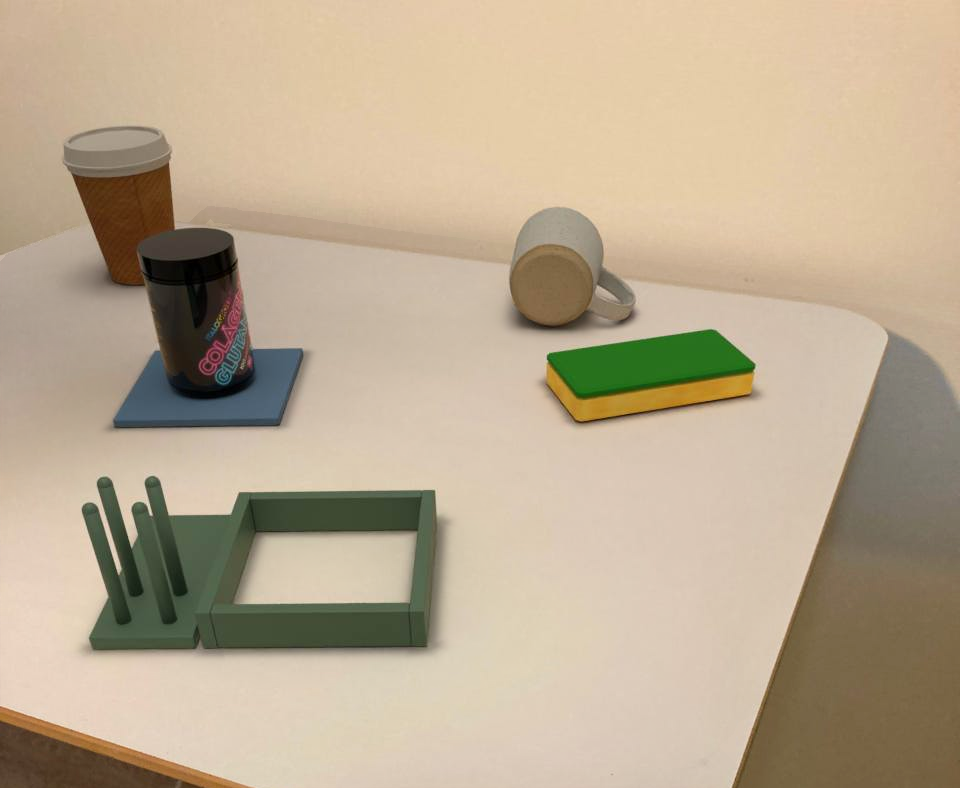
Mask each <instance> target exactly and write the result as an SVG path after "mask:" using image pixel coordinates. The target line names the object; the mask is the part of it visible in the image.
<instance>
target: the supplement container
mask: <svg viewBox="0 0 960 788" xmlns="http://www.w3.org/2000/svg"><path fill="white" fill-rule="evenodd" d="M136 250H137V254H138V258H139V263H140V267H141V273H142V275H143V278H144V282H145V284H144V285H145V291H146V294H147V299H148V303H149V307H150V312H151V317H152V320H153V325H154V328H155V329H154V330H155V334H156V338H157V341H158V346H159V347H158V348H159V350H160V351H161V355H162V360H163V364H164V368H165V372H166V377H167V381H168V383H169V384H170V386H171V387H172V388H173V389H174V390H175V391H176V392H178V393H179V394H181V395H184V396H187V397H191V398H202V399H206V398H217V397H223V396H227V395H230V394H233V393H236V392H238V391H240V390H242V389H244V388H245V387H246V386H248V385H249V384H250V382H251V381H252V379H253V378H254V375H255V371H256V367H255V361H254V356H253V350H252V349H253V344H252V340H251V339H252V338H251V333H250V328H249V327H250V326H249V321H248V316H247V310H246V304H245V299H244V298H245V297H244V293H243V292H244V291H243V287H242V282H241V275H240V269H239V259H238V254H237V249H236V244H235V238H234V236H233V234H231V233H230V232H228V231H225V230H222V229H218V228H211V227H186V228H185V227H184V228H177V229H176V228H175V230H170V231H166V232H162V233H158V234H155V235H153V236H150V237H148V238H146V239H144V240H143V241H141V242H140V243H139V244H138V245H137V248H136Z"/></svg>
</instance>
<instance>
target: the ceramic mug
mask: <svg viewBox="0 0 960 788" xmlns="http://www.w3.org/2000/svg"><path fill="white" fill-rule="evenodd" d="M514 246H515V247H514V250H513V254H512V260H511V264H510V267H509V275H508V284H509V291H510V295H511V298H512V301H513V303H514V305H515V306H516V308H517V309H518V310H519V311H520V312H521V314H522V315H524V317H525V318H527V319H528V320H530V321H532V322H534V323H537V324H539V325H544V326H553V327H554V326H563V325H565V324H568V323H571V322H573V321H575V319H578V318H579V317H580V316H581V315H582V314H583V312H585V311H588V312H590V313H591V314H594V315H596V316H598V317H601V318H604V319H607V320H610V321H623V320H626V319H627V318H628V317H629V316H630V314H631V312H632V311H633V308H634V307H635V305H636V302H637V301H636V300H637V297H636V294H635V292H634V291H633V289H632V288H631V286H630V285H629V284H628V283H627V282H626V281H625V280H623V279H622V278H621V277H620V276H618V275H617V274H616V273H615V272H613V271H611V270H609V269H607V268H606V267H604V266H603V262H604V257H605V256H604V254H605V251H604V242H603V239H602V236H601V235H600V232H599V230H598V228H597V227H596V225H595V224H594V223H593V222H592V221H591V220H590V218H588V217H587V216H585V215H584V214H583V213H581V212H579V211H578V210H576V209H573V208H570V207H565V206H554V207H547V208H543V209H541V210H539V211H537V212H536V213H534V214H532V215H531V216H529V218H528V219H527V220H526V221H525V222H524V224H523V225H522V226H521V229H520V230H519V232H518V235H517V238H516V241H515V245H514ZM597 286H598V287H599V288H602V289H603V290H605V291H607V292H608V293H609V294H611V295H612V296H613V297H615V298H616V299H617V300H618V301H619V303H616V302H614V301H612V300H609V299H607V298H605V297H602V296H600V295H598V294H596V290H597Z"/></svg>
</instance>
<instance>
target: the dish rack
mask: <svg viewBox="0 0 960 788" xmlns="http://www.w3.org/2000/svg"><path fill="white" fill-rule="evenodd" d="M96 488H97V491H98V494H99V498H100V502H101V505H102V509H103V511H104V515H105V518H106V521H107V525H108V528H109V531H110V535H111V538H112V541H113V545H114V549H115V551H116V555H117V558H118V563H119V565H120V571H119V572H118V569H117V565H116V563H115V559H114V556H113V553H112V549H111V545H110V542H109V539H108V536H107V532H106V530H105V526H104V522H103V520H102V519H103V518H102V516H101V512H100V510H99V509H100V508H99V506H98V505H97V504H95V503H94V502H90V501H89V502H85V503H84V504H83V505H82V506H81V515H82V518H83V521H84V523H85V527H86V529H87V530H86V531H87V533H88V536H89V539H90V542H91V546H92V549H93V552H94V556H95V558H96V562H97V565H98V567H99V571H100V574H101V578H102V580H103V584H104V588H105V591H106V595H107V599H106V600H105V603H104V605H103V607H102V609H101V612H100V613H99V616H98V618H97V620H96V622H95V624H94V626H93V627H92V629H91V632H90V634H89V637H88V640H89V643H90V646H91V648H92V649H93V650H118V649H119V650H120V649H121V650H123V649H124V650H125V649H127V650H128V649H129V650H130V649H131V650H132V649H134V650H136V649H140V650H141V649H195V648H196V647H197V645H198V641H199V639H200V641H201V645H202V648H203V649H218V648H223V649H225V648H226V649H227V648H228V649H229V648H327V647H328V648H330V647H331V648H334V647H336V648H337V647H338V648H339V647H342V648H343V647H344V648H345V647H346V648H347V647H427V646H428V636H429V624H430V612H431V600H432V598H431V597H432V586H433V575H434V566H435V565H434V564H435V553H436V552H435V551H436V541H437V540H436V539H437V527H438V517H437V516H438V514H437V513H438V512H437V497H436V490H435V489H407V490H406V489H401V490H399V489H397V490H394V489H393V490H392V489H391V490H389V489H388V490H318V491H316V490H313V491H310V490H309V491H308V490H307V491H238V494H237V496H236V499H235V502H234V504H233V507H232V510H231V513H230V514H172V515H171V514H169V511H168V507H167V502H166V497H165V495H164V490H163V486H162V483H161V480H160V478H159V477H157V476H155V475H149V476H147V478H145V480H144V488H145V492H146V495H147V500H148V504H149V507H150V511H151V514H152V515H151V514H150V511H149V507H148V505H147V504H146V503H145V502H143V501H136V502H134V503H132V505H131V510H130V511H131V515H132V518H133V522H134V526H135V529H136V532H137V536H136V538H135V541H134V543H133V545H132V546H131V541H130V538H129V535H128V532H127V528H126V524H125V521H124V517H123V514H122V509H121V507H120V506H121V505H120V503H119V500H118V499H119V498H118V497H117V493H116V490H115V485H114V482H113V480H112V479H111V478H110V477H108V476H101V477H99V478H97V480H96ZM393 530H394V531H406V530H409V531H410V530H413V531H415V530H417V533H416V534H417V536H416V543H415V552H414V561H413V570H412V571H413V572H412V580H411V590H410V598H409V599H410V600H409V602H330V603H329V602H327V603H324V602H323V603H321V602H320V603H318V602H317V603H233V602H234V598H235V596H236V593H237V589H238V587H239V583H240V581H241V577H242V575H243V571H244V568H245V565H246V562H247V559H248V556H249V553H250V549H251V546H252V544H253V540H254V537H255V535H256V532H315V531H316V532H320V531H321V532H322V531H323V532H324V531H325V532H328V531H331V532H332V531H393Z"/></svg>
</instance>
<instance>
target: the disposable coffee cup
mask: <svg viewBox="0 0 960 788" xmlns="http://www.w3.org/2000/svg"><path fill="white" fill-rule="evenodd" d="M172 147H173V146H172V145H171V144H169V143H168V141H167V139H166V136H165V134H164V131H162V130H161V129H159V128H157V127H153V126H146V125H111V126H110V125H109V126H104V127H98V128H92V129H87V130H84V131H80V132H77V133H73V134H72V135H70V136H68V137H67V138H65V139H64V141H63V154H62V156H61V161H62V164H63V165H64V166H66V169H67V171H68V172H69V173H70V174H71V176H72V179H73V182H74V184H75V186H76V187H75V188H76V190H77V192H78V195H79V197H80V200H81V202H82V206H83V207H84V210H85V213H86V216H87V218H88V220H89V223H90V226H91V228H92V231H93V234H94V236H95V239H96V242H97V244H98V246H99V247H98V248H99V249H100V252H101V255H102V257H103V259H104V262H105V265H106V268H107V271H108V272H109V276H110V278H111V280H112V281H113V282H115V283H119V284H123V285H131V286H139V285H140V286H141V285H145V282H144V278H143V275H142V273H141V267H140V263H139V258H138V254H137V250H136V248H137V245H138V244H139V243H140V242H141V241H143V240H144V239H146V238H148V237H150V236H153V235H155V234H158V233H162V232H166V231H170V230H176V226H175V213H174V202H173V190H172V179H171V168H170V161H171V159H172V156H171V154H172V153H173V148H172Z"/></svg>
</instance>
